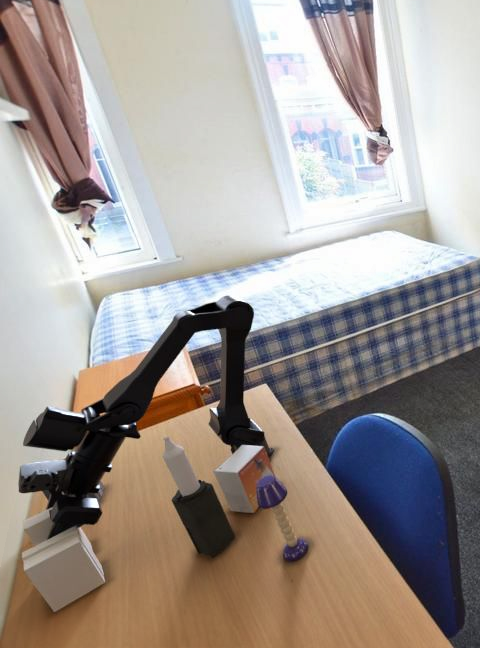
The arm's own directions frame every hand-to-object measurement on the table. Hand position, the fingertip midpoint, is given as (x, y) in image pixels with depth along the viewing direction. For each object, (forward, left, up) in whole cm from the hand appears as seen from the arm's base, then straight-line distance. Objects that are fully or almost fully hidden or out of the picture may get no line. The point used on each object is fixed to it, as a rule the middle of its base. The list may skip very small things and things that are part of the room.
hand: (46, 535), depth 84 cm
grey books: (+9, -15, -7) cm, 19 cm away
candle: (-28, -1, -7) cm, 29 cm away
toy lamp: (-44, +2, -7) cm, 45 cm away
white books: (-8, +6, -7) cm, 12 cm away
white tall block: (-1, 0, -7) cm, 7 cm away
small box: (-30, -12, -7) cm, 33 cm away
